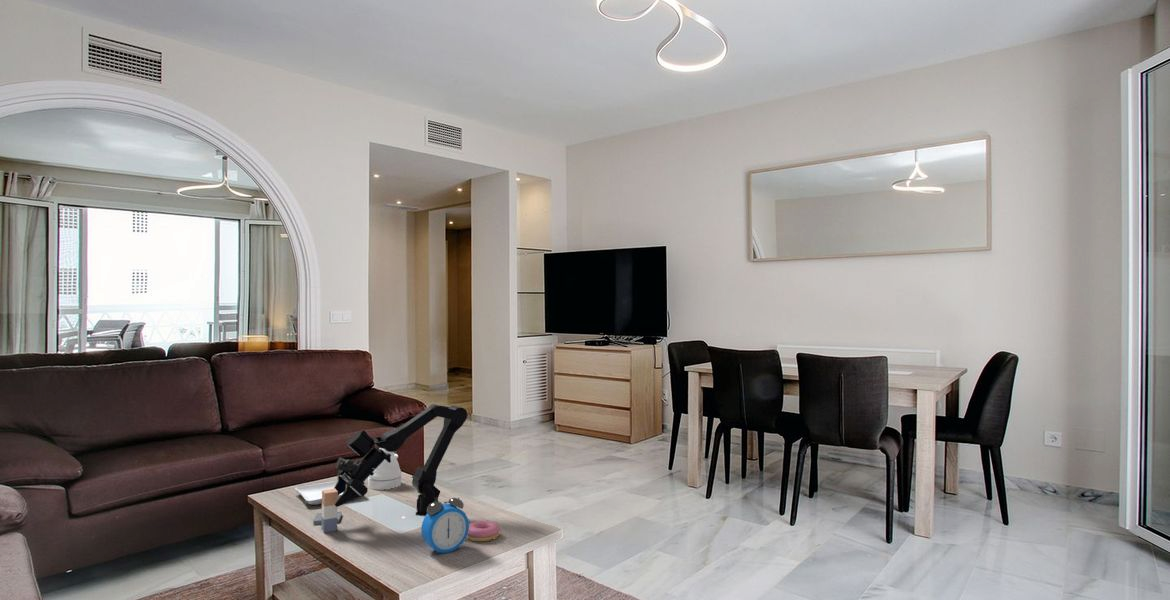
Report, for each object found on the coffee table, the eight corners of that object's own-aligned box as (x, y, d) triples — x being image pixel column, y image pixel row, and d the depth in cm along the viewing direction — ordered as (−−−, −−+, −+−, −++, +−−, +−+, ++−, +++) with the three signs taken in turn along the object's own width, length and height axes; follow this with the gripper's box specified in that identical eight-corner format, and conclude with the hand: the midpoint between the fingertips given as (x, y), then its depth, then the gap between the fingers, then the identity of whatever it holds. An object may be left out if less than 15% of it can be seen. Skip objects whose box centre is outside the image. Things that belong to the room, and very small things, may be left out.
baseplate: (341, 515, 217) (341, 511, 217) (339, 522, 209) (339, 519, 209) (316, 516, 215) (316, 513, 215) (313, 524, 207) (313, 521, 207)
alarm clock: (428, 558, 181) (429, 506, 181) (419, 551, 186) (420, 501, 186) (469, 548, 189) (470, 498, 189) (460, 542, 194) (461, 493, 194)
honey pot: (393, 479, 263) (394, 436, 263) (406, 486, 253) (407, 441, 253) (363, 484, 254) (363, 440, 255) (375, 491, 245) (376, 445, 245)
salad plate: (293, 495, 240) (293, 486, 240) (350, 486, 252) (350, 478, 252) (306, 510, 223) (307, 500, 223) (367, 499, 235) (367, 490, 235)
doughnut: (490, 545, 192) (490, 532, 192) (458, 541, 195) (458, 527, 195) (505, 533, 202) (505, 520, 202) (475, 529, 206) (475, 516, 206)
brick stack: (334, 526, 205) (335, 488, 206) (336, 530, 202) (337, 491, 202) (321, 529, 203) (322, 490, 203) (323, 532, 200) (324, 493, 200)
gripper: (345, 443, 214) (309, 479, 208) (358, 454, 199) (320, 494, 192) (367, 464, 219) (333, 500, 212) (382, 476, 203) (346, 516, 197)
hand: (332, 502), depth 203 cm, fingers open, 9 cm apart
